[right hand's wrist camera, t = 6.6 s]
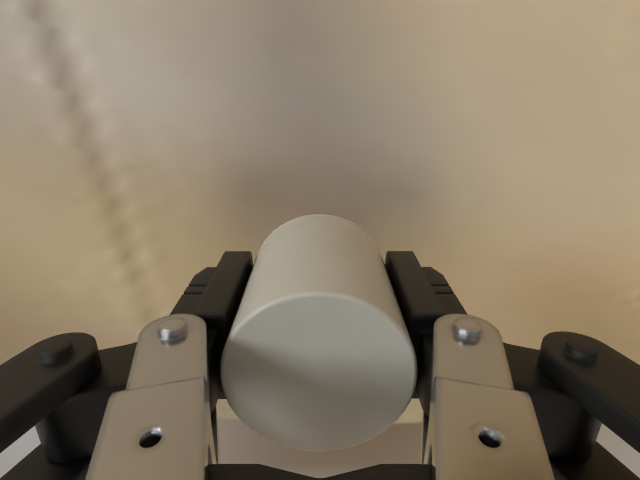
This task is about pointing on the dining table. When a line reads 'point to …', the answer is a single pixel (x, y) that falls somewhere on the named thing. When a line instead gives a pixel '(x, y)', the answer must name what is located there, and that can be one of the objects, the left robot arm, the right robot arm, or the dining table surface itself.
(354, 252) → the can
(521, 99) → the dining table surface
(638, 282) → the dining table surface
